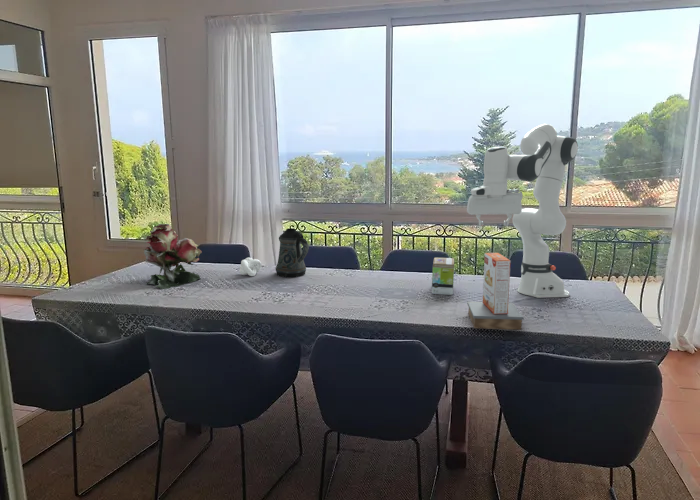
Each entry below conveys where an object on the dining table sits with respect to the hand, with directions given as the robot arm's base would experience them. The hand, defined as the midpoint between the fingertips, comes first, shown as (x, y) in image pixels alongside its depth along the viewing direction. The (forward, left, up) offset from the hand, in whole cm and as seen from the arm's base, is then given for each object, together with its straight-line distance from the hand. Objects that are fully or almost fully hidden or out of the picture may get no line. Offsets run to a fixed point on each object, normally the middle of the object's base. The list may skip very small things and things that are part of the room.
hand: (493, 225), depth 191 cm
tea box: (+15, -37, -37) cm, 54 cm away
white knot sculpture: (+117, -60, -37) cm, 137 cm away
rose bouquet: (+154, -44, -37) cm, 165 cm away
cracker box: (-1, +6, -32) cm, 32 cm away
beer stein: (+93, -63, -37) cm, 118 cm away
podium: (-1, +6, -37) cm, 37 cm away
